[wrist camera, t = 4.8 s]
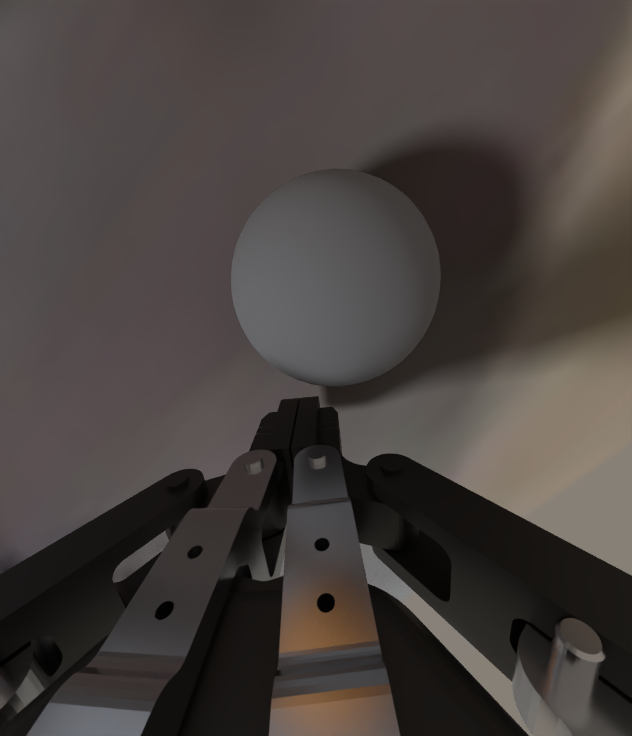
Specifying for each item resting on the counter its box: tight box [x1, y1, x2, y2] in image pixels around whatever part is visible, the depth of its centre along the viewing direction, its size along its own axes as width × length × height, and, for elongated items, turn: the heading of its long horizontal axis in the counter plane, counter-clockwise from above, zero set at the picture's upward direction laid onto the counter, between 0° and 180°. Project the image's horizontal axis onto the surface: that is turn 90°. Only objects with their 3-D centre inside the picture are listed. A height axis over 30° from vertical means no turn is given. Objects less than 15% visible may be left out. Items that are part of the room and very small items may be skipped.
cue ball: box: [231, 169, 441, 386], centre depth 9 cm, size 6×6×6 cm
